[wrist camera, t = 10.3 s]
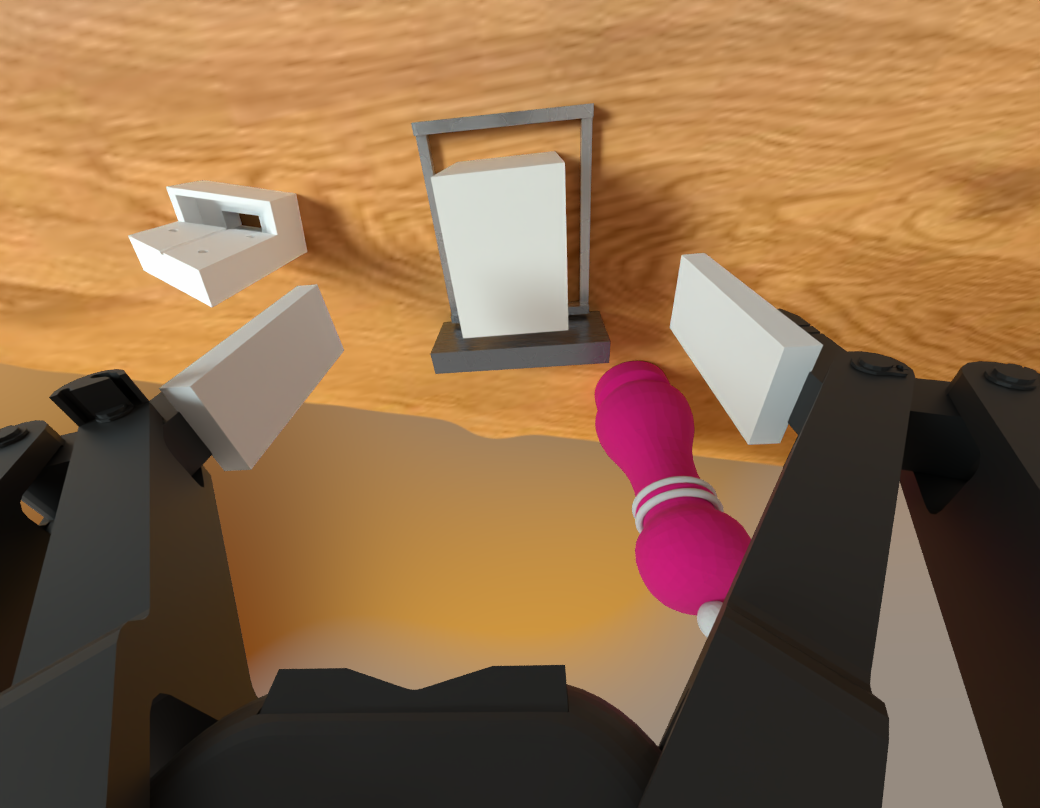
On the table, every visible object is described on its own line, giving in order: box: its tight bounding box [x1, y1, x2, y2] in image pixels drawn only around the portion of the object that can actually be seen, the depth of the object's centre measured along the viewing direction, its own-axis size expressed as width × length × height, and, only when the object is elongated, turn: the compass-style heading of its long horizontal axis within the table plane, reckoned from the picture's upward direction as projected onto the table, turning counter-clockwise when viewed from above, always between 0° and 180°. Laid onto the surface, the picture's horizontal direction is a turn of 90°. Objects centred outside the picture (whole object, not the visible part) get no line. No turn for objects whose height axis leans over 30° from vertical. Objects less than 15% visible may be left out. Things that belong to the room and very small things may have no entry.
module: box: [431, 151, 568, 338], centre depth 23 cm, size 8×6×8 cm
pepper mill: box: [595, 361, 751, 638], centre depth 25 cm, size 7×7×20 cm
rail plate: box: [411, 103, 610, 374], centre depth 24 cm, size 14×12×5 cm
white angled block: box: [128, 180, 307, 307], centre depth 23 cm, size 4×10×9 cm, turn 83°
